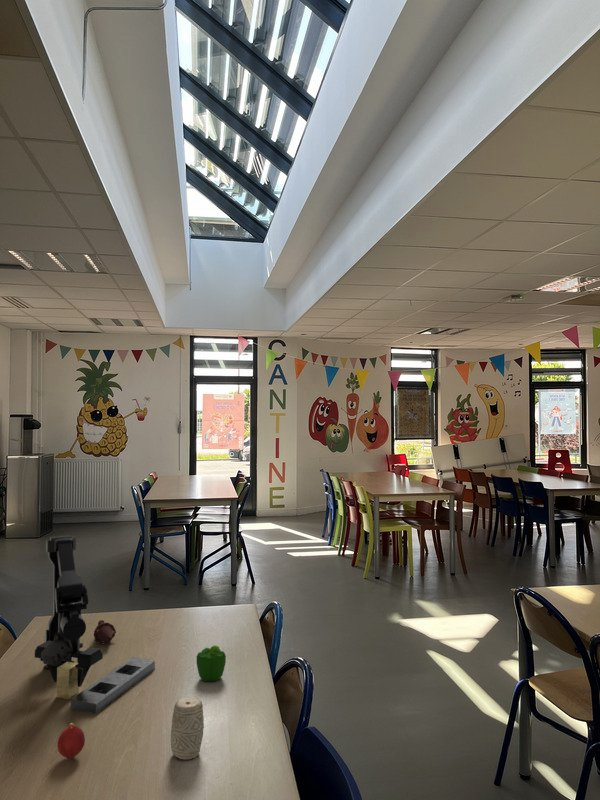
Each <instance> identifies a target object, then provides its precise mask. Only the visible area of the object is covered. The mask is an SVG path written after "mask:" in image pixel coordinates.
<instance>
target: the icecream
mask: <svg viewBox="0 0 600 800" xmlns="http://www.w3.org/2000/svg"><path fill="white" fill-rule="evenodd" d="M116 633H117V631H116V629H115V626H114V625H113V624H111V623H109V622H105V620H103V619H100V620H98V622H97V625H96V627H95V629H94V631H93V637H94V641H95V642H96V643H98V644H101V645H104V644H108V643H107V642H109V643H110V642H112V641H113V640H112V639H114V638H115V637H116ZM103 643H104V644H103Z"/></svg>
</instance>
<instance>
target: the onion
mask: <svg viewBox="0 0 600 800" xmlns="http://www.w3.org/2000/svg"><path fill="white" fill-rule="evenodd" d="M85 741H86V737H85V733H84V731H83V729H81V728H80V727H79V726H77V725H75V724H74V723H73V722H71V723H69V724H68V725H67V727H66V728H65V729H64V730H62V731H61V733H60V735H59V737H58V738H57V745H56V746H57V751H58V753H59V754H60V755H61V756H62V757H64V758H66V759H67V760H73V759H74V758H75V757H76V756H77V755H79V754H80V753H81V751H82V750H83V748H84V746H85V743H86V742H85Z"/></svg>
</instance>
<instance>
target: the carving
mask: <svg viewBox="0 0 600 800" xmlns="http://www.w3.org/2000/svg"><path fill="white" fill-rule="evenodd" d="M171 717H172V718H171V729H170V748H171V752H172V754H173V755H174V757H176V758H178V759H180V760H185V761H186V760H193V759H195V758H197V757H198V756H199V754H200V752H201V745H202V742H203V736H204V729H205V725H204V724H205V720H204V719H205V718H204V704H203V702H202V700H201V699H200V698H198V697H196V696H183V697H180V698H179V699H177V701H175V704H174V706H173V713H172V716H171ZM196 756H197V757H196ZM192 758H193V759H192Z"/></svg>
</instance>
